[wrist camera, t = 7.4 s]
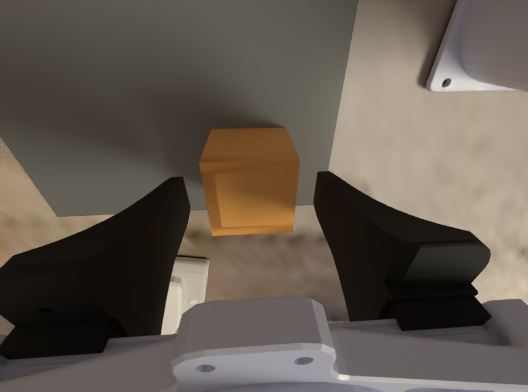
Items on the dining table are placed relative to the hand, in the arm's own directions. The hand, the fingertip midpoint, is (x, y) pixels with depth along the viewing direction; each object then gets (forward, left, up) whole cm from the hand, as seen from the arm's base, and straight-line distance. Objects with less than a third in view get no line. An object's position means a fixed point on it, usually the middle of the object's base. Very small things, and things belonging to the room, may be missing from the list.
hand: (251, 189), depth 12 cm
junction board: (+5, -4, -5) cm, 8 cm away
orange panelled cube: (0, 0, -4) cm, 4 cm away
